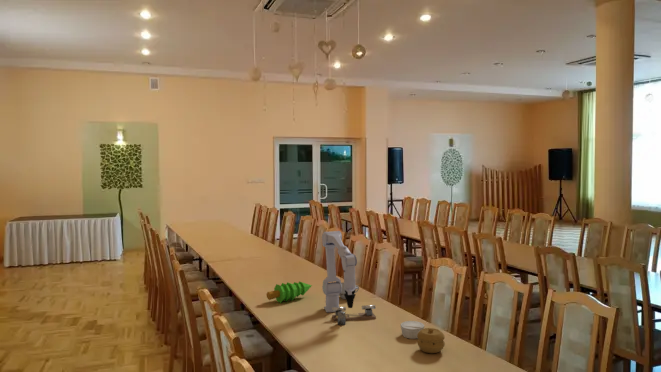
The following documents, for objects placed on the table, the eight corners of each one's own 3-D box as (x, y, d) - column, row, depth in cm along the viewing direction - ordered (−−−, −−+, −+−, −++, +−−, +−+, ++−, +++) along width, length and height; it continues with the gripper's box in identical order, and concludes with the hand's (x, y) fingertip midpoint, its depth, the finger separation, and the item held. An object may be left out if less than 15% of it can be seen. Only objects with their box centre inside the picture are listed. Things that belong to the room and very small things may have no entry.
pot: (440, 345, 217) (440, 323, 216) (447, 356, 205) (448, 332, 205) (414, 346, 216) (414, 324, 216) (420, 356, 205) (420, 333, 204)
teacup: (340, 302, 284) (340, 288, 283) (332, 296, 295) (332, 283, 295) (363, 298, 290) (363, 285, 289) (354, 293, 301) (354, 280, 301)
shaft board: (332, 317, 257) (332, 314, 257) (372, 314, 261) (372, 311, 260) (334, 321, 250) (334, 318, 250) (375, 318, 254) (375, 316, 254)
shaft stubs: (331, 315, 255) (331, 306, 255) (374, 313, 259) (374, 303, 259) (332, 318, 252) (332, 308, 251) (376, 315, 255) (376, 306, 255)
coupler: (335, 323, 248) (335, 311, 247) (346, 322, 249) (346, 310, 248) (336, 325, 244) (336, 314, 243) (348, 324, 245) (348, 313, 244)
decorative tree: (265, 282, 283) (309, 273, 300) (263, 298, 287) (306, 288, 304) (274, 293, 275) (318, 283, 291) (271, 310, 279) (315, 298, 296)
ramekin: (406, 341, 222) (406, 330, 222) (396, 333, 233) (396, 322, 233) (428, 338, 225) (428, 327, 225) (417, 330, 236) (417, 319, 236)
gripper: (357, 281, 237) (358, 309, 237) (357, 275, 252) (358, 301, 252) (343, 282, 237) (343, 309, 238) (343, 276, 252) (344, 302, 252)
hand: (350, 305), depth 245 cm, fingers open, 7 cm apart
